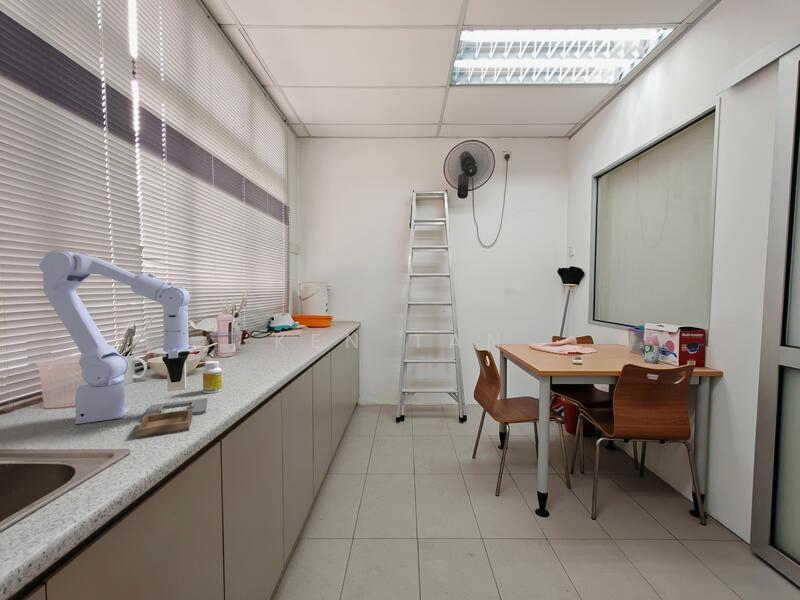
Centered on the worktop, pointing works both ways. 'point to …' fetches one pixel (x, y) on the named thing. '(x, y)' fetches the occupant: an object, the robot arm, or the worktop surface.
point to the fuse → (177, 385)
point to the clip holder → (196, 405)
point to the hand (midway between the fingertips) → (177, 379)
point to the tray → (164, 423)
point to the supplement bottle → (212, 377)
